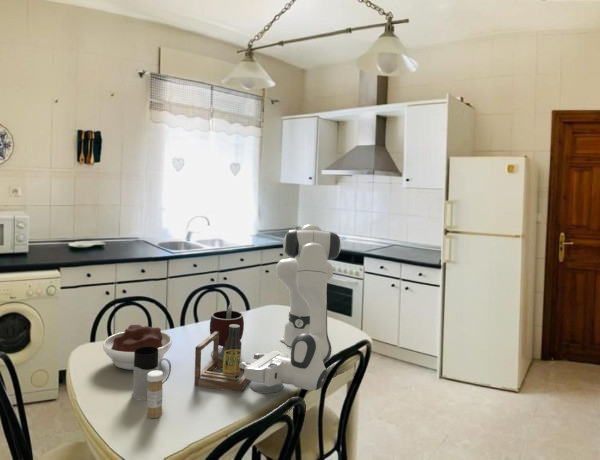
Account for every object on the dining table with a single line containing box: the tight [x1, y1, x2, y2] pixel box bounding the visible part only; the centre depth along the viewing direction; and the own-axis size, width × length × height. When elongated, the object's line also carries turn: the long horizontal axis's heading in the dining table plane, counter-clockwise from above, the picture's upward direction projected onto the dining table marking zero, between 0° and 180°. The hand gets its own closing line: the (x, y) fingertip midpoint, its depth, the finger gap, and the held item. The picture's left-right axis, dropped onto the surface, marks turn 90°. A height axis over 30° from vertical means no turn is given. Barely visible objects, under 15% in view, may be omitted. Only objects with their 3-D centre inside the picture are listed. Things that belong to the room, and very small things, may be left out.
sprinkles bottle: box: [146, 370, 164, 419], centre depth 139 cm, size 5×5×14 cm
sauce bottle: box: [221, 324, 242, 379], centre depth 168 cm, size 6×6×20 cm
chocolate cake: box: [102, 324, 173, 371], centre depth 175 cm, size 25×25×15 cm
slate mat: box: [248, 380, 284, 394], centre depth 164 cm, size 12×12×1 cm
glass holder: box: [131, 347, 172, 401], centre depth 151 cm, size 9×14×15 cm, turn 69°
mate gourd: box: [209, 302, 245, 360], centre depth 190 cm, size 16×14×20 cm
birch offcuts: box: [202, 371, 239, 382], centre depth 163 cm, size 4×12×4 cm, turn 78°
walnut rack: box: [193, 331, 251, 393], centre depth 167 cm, size 18×17×14 cm
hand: (247, 360), depth 165 cm, fingers open, 8 cm apart
